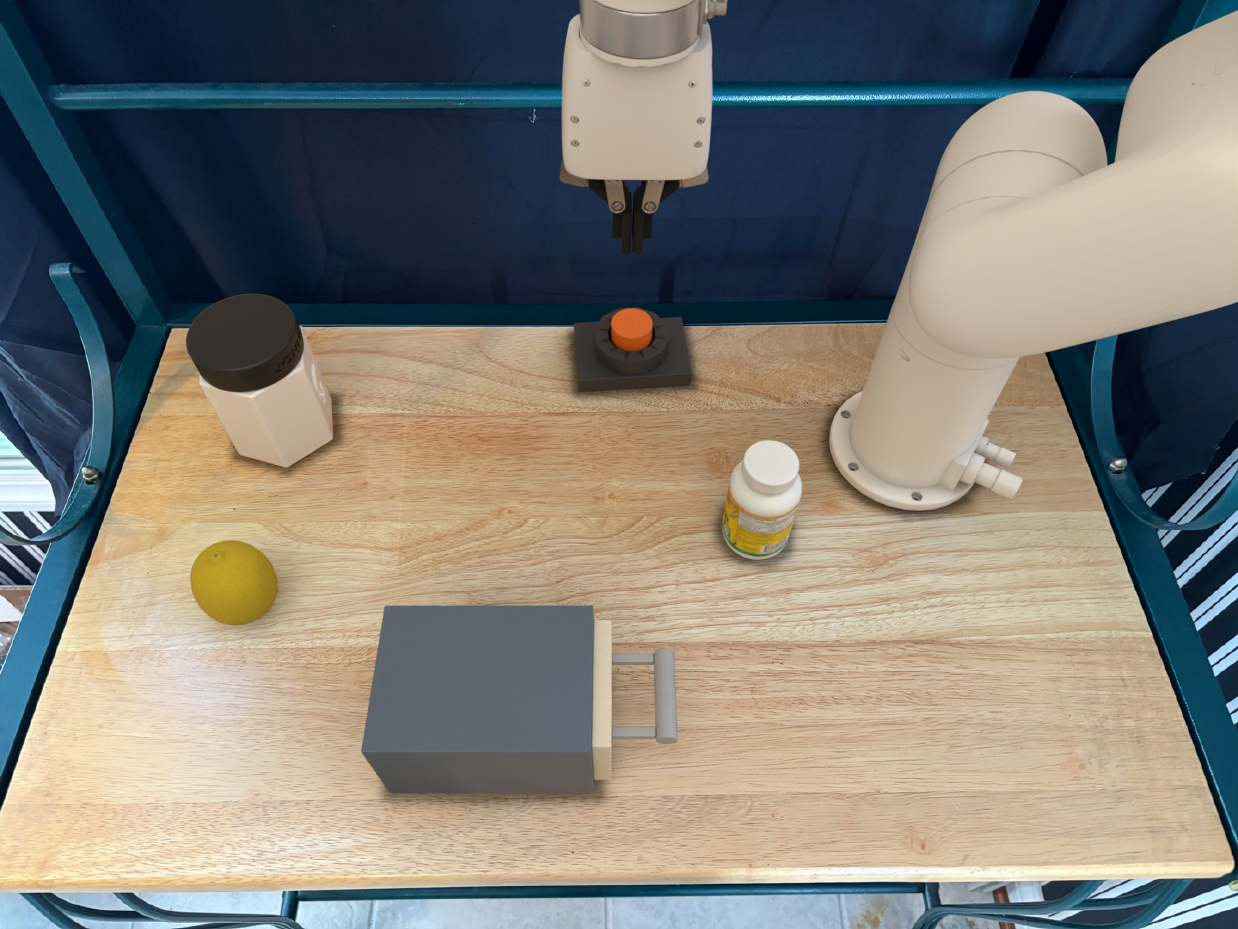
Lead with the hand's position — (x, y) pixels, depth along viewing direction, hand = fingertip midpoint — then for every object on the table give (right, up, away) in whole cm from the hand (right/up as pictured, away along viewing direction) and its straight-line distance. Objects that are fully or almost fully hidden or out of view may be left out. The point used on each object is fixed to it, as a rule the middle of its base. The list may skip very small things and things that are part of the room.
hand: (631, 242), depth 71 cm
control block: (0, -8, +12) cm, 15 cm away
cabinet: (-9, -35, -7) cm, 37 cm away
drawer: (-6, -35, -8) cm, 36 cm away
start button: (0, -6, +10) cm, 12 cm away
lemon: (-28, -28, -2) cm, 40 cm away
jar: (-30, -14, +8) cm, 34 cm away
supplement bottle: (+10, -23, +2) cm, 25 cm away
